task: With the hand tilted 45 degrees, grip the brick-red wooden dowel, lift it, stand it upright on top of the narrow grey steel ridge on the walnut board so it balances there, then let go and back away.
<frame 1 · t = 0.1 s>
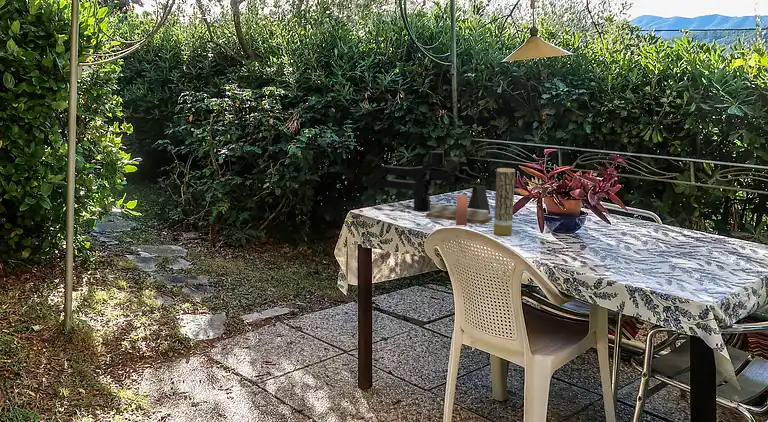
hand: (476, 178, 279), 17 cm above the table, tool horizontal, fingers open, 9 cm apart
door stopper: (478, 213, 290), on the table
bark log: (502, 234, 252), on the table
ridge board: (458, 218, 278), on the table
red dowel: (461, 224, 266), on the table
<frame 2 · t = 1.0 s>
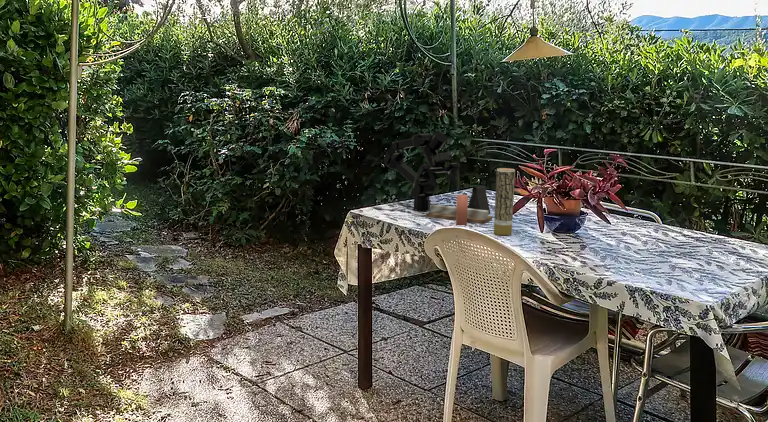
hand: (445, 185, 276), 14 cm above the table, tool tilted 45°, fingers open, 9 cm apart
nothing on the table moved.
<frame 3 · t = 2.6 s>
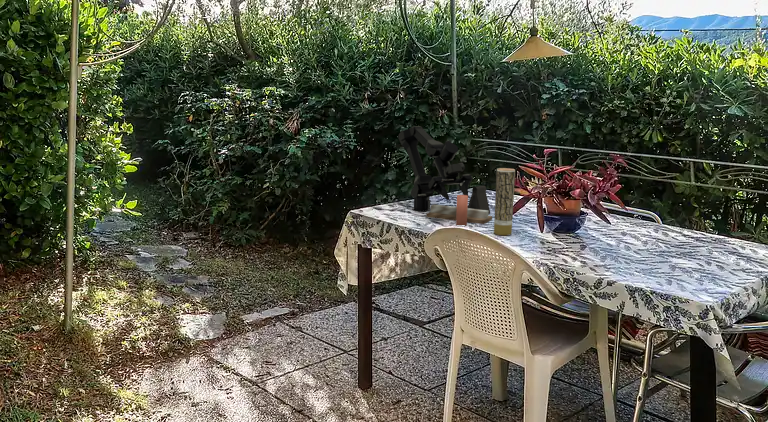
hand: (458, 198, 267), 10 cm above the table, tool tilted 45°, fingers open, 9 cm apart
nothing on the table moved.
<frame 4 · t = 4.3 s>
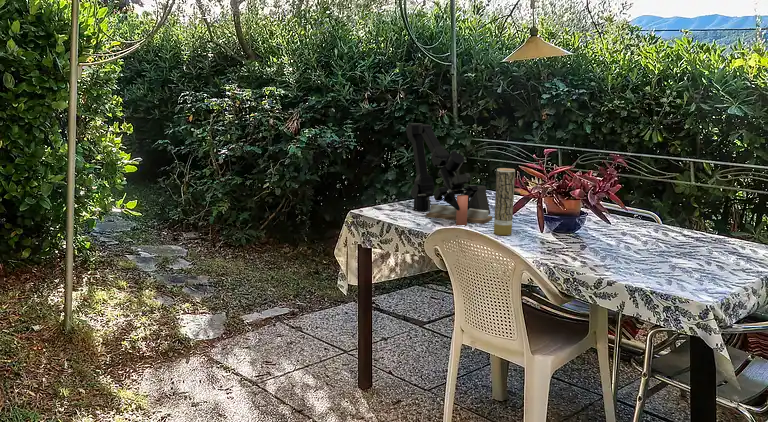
hand: (463, 209, 264), 7 cm above the table, tool tilted 45°, fingers closed on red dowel, 4 cm apart
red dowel: (461, 224, 266), on the table, touching gripper
everything else where it was.
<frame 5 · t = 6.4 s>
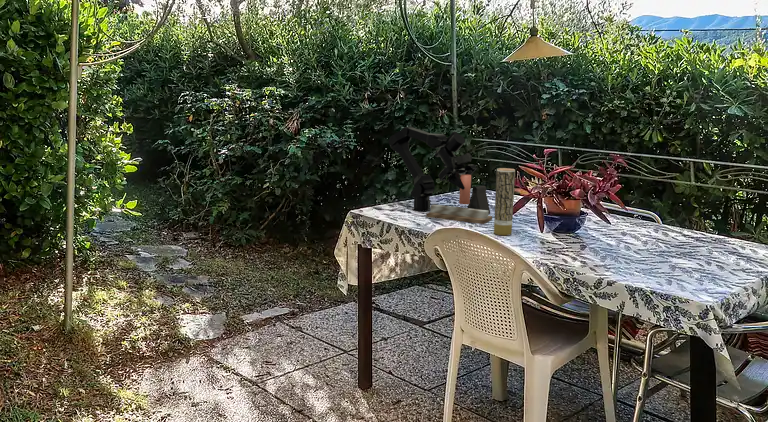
hand: (467, 188, 273), 13 cm above the table, tool tilted 45°, fingers closed on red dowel, 4 cm apart
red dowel: (464, 203, 275), point 7 cm above the table, touching gripper
everything else where it was.
when the fingers open (12 cm above the table, at t = 8.8 s): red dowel stays where it is, resting on ridge board.
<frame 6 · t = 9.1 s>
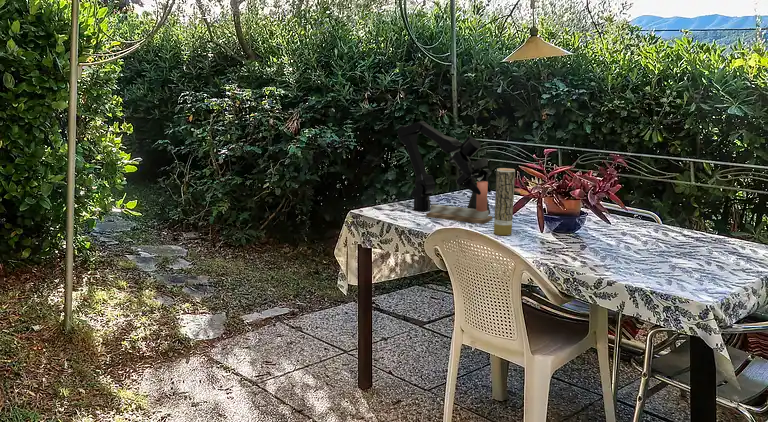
hand: (485, 193, 270), 12 cm above the table, tool tilted 45°, fingers open, 7 cm apart
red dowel: (481, 210, 273), point 5 cm above the table, touching ridge board
everything else where it was.
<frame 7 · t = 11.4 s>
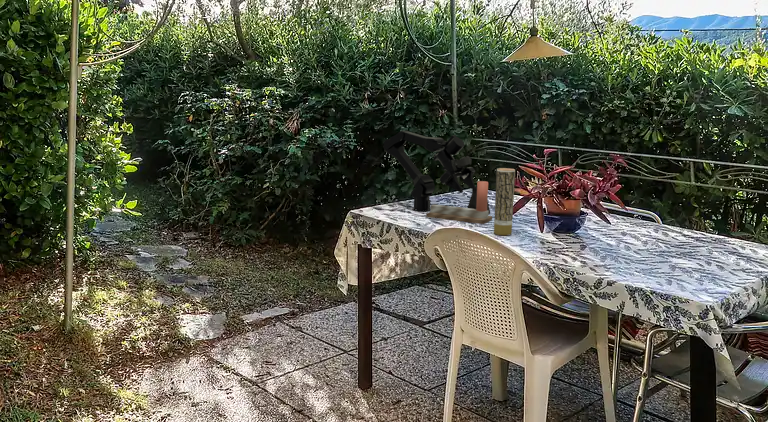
hand: (468, 190, 276), 12 cm above the table, tool tilted 45°, fingers open, 9 cm apart
nothing on the table moved.
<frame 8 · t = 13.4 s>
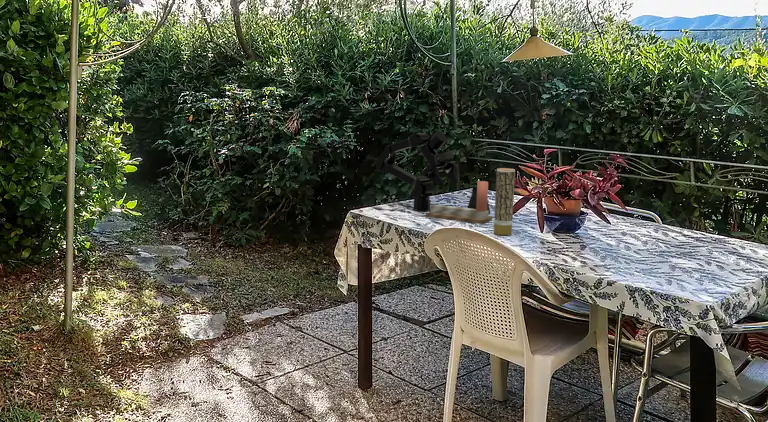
hand: (450, 184, 281), 14 cm above the table, tool tilted 45°, fingers open, 9 cm apart
nothing on the table moved.
at the end: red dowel inside the target area (8.4 cm from its centre), point 4.5 cm above the table; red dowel tilted 0°; the gripper is holding nothing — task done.
